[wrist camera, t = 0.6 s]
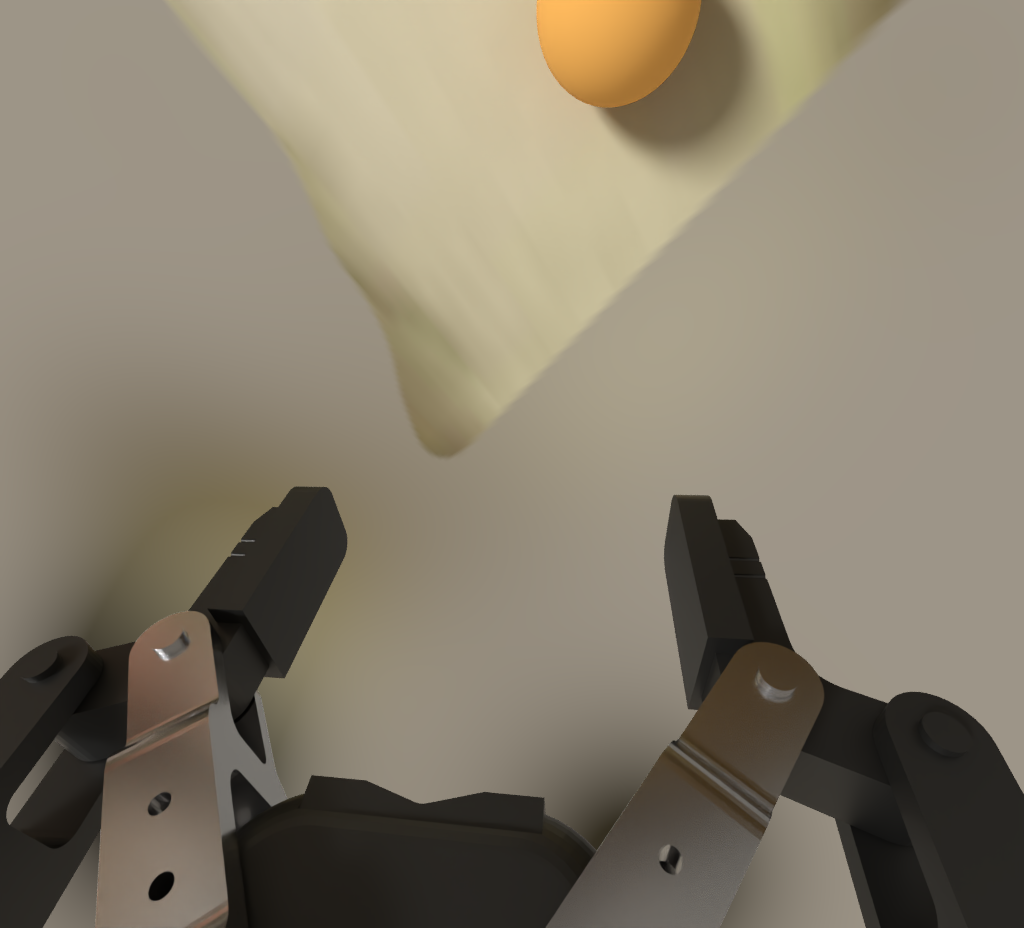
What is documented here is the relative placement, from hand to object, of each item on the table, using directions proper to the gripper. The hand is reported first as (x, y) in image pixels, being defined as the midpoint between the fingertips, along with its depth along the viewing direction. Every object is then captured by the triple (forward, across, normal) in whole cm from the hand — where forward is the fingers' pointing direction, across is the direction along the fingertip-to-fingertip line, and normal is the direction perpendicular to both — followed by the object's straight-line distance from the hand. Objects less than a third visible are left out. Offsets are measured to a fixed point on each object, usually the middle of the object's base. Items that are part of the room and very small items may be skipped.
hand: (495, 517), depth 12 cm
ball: (+17, -3, -10) cm, 20 cm away
